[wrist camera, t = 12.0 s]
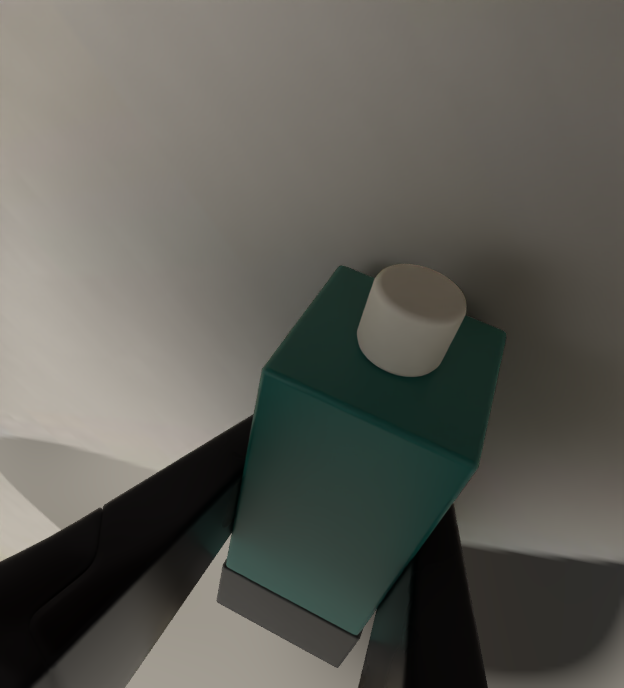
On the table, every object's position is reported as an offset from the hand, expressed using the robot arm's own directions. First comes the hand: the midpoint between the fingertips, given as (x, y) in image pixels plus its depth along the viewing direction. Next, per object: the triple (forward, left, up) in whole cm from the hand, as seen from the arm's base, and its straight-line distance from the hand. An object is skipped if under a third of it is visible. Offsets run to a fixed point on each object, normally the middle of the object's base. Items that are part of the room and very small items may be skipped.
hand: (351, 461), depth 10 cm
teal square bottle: (0, 0, -1) cm, 1 cm away
